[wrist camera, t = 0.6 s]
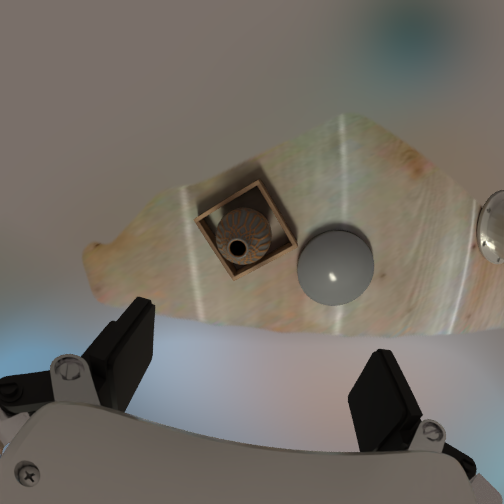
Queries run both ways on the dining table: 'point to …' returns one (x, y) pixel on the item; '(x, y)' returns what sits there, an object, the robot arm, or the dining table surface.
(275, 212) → the holder
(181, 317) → the dining table surface
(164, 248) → the dining table surface
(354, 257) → the plate
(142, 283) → the dining table surface
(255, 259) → the vase
